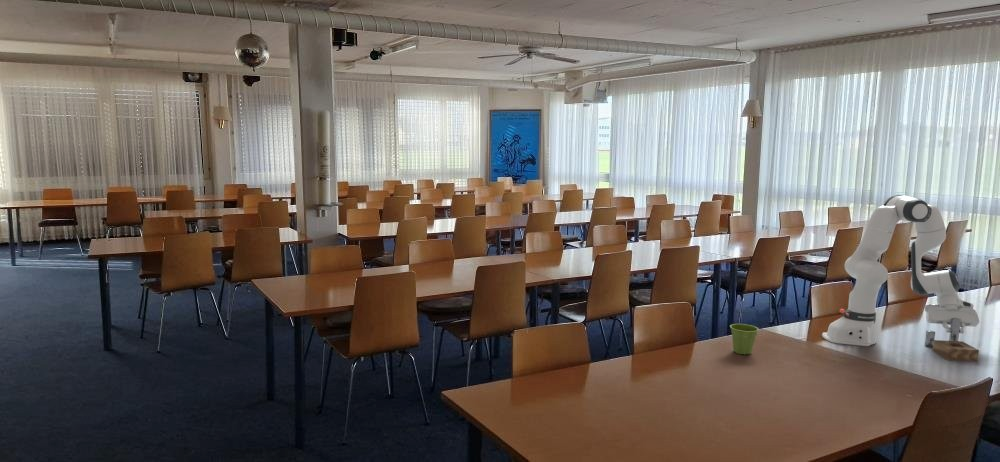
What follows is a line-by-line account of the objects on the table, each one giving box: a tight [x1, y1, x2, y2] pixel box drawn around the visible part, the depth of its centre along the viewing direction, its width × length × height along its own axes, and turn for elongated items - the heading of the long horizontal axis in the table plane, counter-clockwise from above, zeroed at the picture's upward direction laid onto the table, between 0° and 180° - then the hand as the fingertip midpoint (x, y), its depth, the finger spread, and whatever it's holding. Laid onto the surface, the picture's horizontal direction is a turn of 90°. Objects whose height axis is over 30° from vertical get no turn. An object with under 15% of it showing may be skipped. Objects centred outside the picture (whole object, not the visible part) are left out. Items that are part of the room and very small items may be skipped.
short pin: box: [924, 329, 936, 348], centre depth 299 cm, size 4×4×7 cm
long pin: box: [948, 318, 961, 341], centre depth 295 cm, size 4×4×14 cm
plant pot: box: [729, 323, 760, 355], centre depth 286 cm, size 12×12×11 cm
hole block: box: [932, 339, 980, 362], centre depth 286 cm, size 12×12×5 cm
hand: (955, 332), depth 295 cm, fingers closed on long pin, 3 cm apart
